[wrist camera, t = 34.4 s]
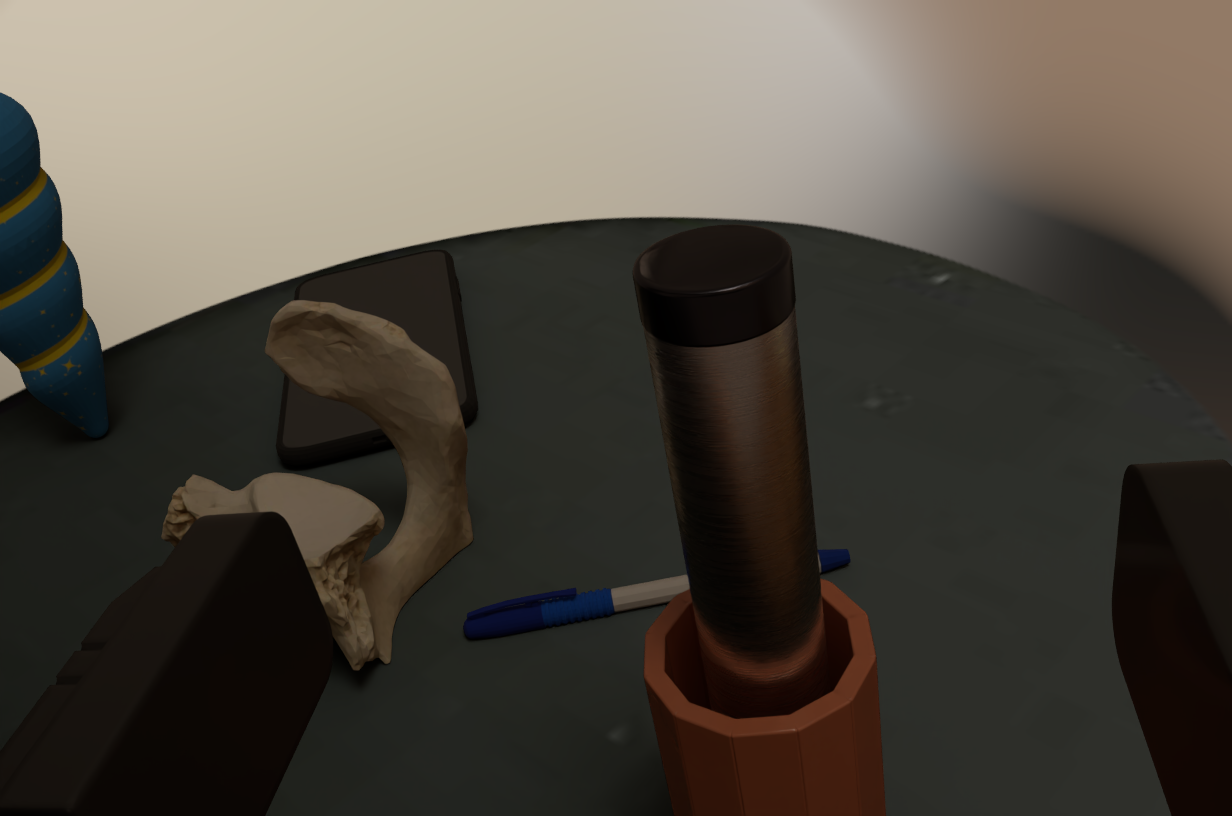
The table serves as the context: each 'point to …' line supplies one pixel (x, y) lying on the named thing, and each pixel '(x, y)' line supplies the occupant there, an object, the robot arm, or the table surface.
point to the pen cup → (768, 727)
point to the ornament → (43, 285)
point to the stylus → (738, 460)
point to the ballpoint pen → (590, 603)
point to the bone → (337, 516)
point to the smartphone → (407, 297)
